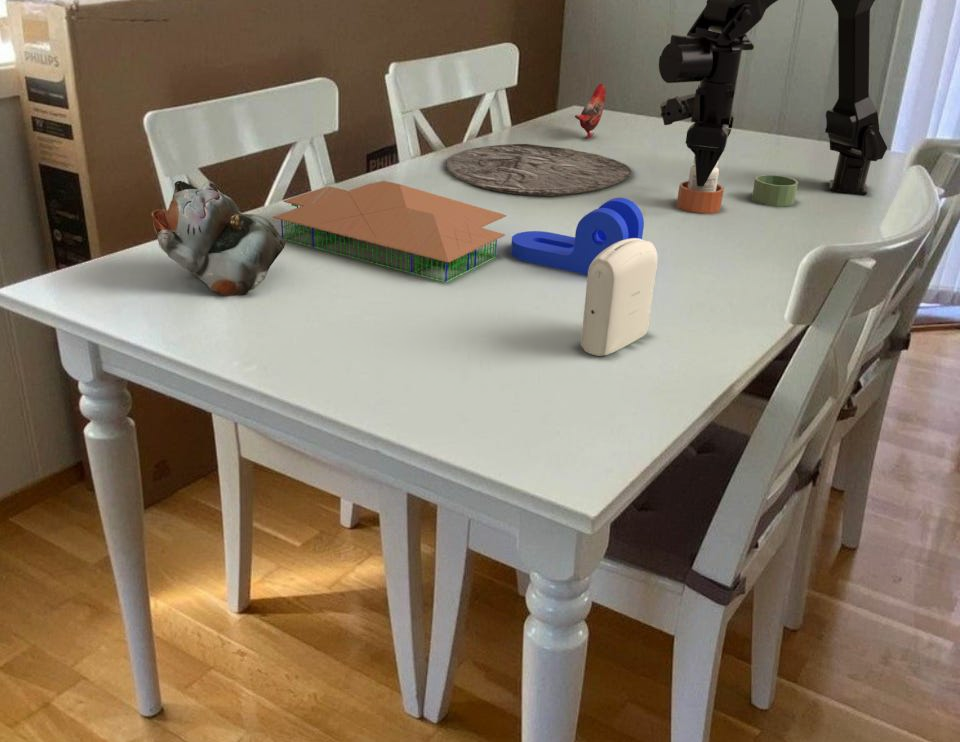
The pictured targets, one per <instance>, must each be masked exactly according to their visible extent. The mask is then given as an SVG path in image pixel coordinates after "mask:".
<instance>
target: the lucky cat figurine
mask: <svg viewBox="0 0 960 742" xmlns="http://www.w3.org/2000/svg"><path fill="white" fill-rule="evenodd" d="M150 213H151V218H152V219H153V224H152V225H153V228H154V232H155V233H156V235H157V242H158V247H159V248H160V249H161V250H162V251H163V252H164V253H165V254H166V255H167V256H168V258H170V259H171V260H172V261H174V262H175V263H177V264H179V266H181V267H182V268H183V269H186V270H187V271H189V272H190V273H191V274H193V276H195V277H197V278H198V279H199V280H200V281H202V282H203V283H205V285H206V286H207V287H208V288H209V289H210V290H211V291H212V292H214V293H215V294H218V295H220V296H222V297H224V296H245V295H247V294H248V293H249V292H250V291H254V290H255V289H256V288H257V287H258V286H259V285H261V284H262V283H263V282H264V281H265V280H266V278H267V275H268V272H269V270H270V267H271V266H272V265H273V263H274V262H275V261H276V259H278V257H279V256H280V254H281V253H282V252H283V250H284V249H285V246H286V244H287V240H285V239H286V238H285V237H284V236H283V237H282V235H280V233H279V232H278V230H277V228H276V227H275V225H274V224H273V223H272V222H271V221H270V220H268V219H266V218H265V217H263V216H261V215H259V214H253V213H249V214H248V213H241V212H240V208H239V207H238V205H237V203H236V202H234V201H233V199H232V198H231V197H229V196H228V195H226V194H223V193H222V192H219V188H218V187H217V185H216V183H214V182H213V181H212V180H209V181H205V182H204V184H203V185H202V186H201V188H198V187H195V186H192V185H191V184H189V183H188V182H185V181H182V180H177V181H175V182H174V190H173V194H172V198H171V201H170V203H169V206H168V208H167V210H166V209H165V208H163V209H157V208H156V209H154V210H152V211H151V212H150Z"/></svg>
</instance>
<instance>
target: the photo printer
mask: <svg viewBox="0 0 960 742" xmlns="http://www.w3.org/2000/svg"><path fill="white" fill-rule="evenodd" d="M658 260H659V259H658V251H657V249H656V246H655V245H654V243H653V242H652V241H648V240H644V239H643V238H642V239H639V238H630V239H625V240H622V241H619V242H617V243H615V244H613V245H611V246H609V247H608V248H606V249H605V250H603V251H602V252H601V253H600V254H599V255H598V256H597V257H596V258H595V259H594V260H593V261H592V263H591V264H590V266H589V270H588V275H587V279H586V288H585V297H584V310H583V319H582V328H581V336H580V346H581V347H582V348H583V351H584V352H586V353H588V354H590V355H593V356H596V357H603V356H608V355H611V354H613V353H615V352H617V351H620V350H621V349H623V348H625V347H627V346H629V345H631V344H632V343H634V342H636V341H637V340H639V339H641V338H642V337H644V336H645V335H647V333H648V329H649V324H650V317H651V311H652V304H653V296H654V290H655V281H656V274H657V267H658Z"/></svg>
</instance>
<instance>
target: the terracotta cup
mask: <svg viewBox="0 0 960 742" xmlns="http://www.w3.org/2000/svg"><path fill="white" fill-rule="evenodd" d="M688 182H689V180H684V181H681V182H680V183H679V186H678V193H677V199H676V207H677V208H678V209H680V210H682V211H685V212H690V213H695V214H715V213H718V212H720V211H721V207H722V204H723V203H722V201H723V197H724V190H725V188H724V186H723V185H721V184H718V183H717V187H716V191H714V192H702V191H695V190H691V189H688Z"/></svg>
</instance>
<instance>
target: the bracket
mask: <svg viewBox="0 0 960 742" xmlns="http://www.w3.org/2000/svg"><path fill="white" fill-rule="evenodd" d="M644 220H645V219H644V215H643V212H642V210H641V208H640V207H639V206H638V204H637V203H635V202H634V201H633V200H631V199H629V198H626V197H613V198H611V199H609V200H607V201H606V202H604V203H602V204H601V205H600V206H599V207H598V208H595V209H593V210H591V211H590V212H588V213H587V214H585V215H584V216H582V218H581V219H580V220H579V221H578V223H577V224H576V228H575V235H574V236H570V235H565V234H560V233H555V232H549V231H543V230H542V231H541V230H528V231H521V232H517V233H515V234H514V235H512V236H511V243H510V244H511V245H510V255H511V256H512V257H513V258H515V259H517V260H519V261H522V262H525V263H530V264H535V265H538V266H539V265H540V266H545V267H549V268H554V269H559V270H563V271H568V272H572V273H576V274H582V275H585V276H586V275H587V276H588V270H589V266H590V264H591V263H592V261H593V260H594V259H595V258H596V257H597V256H598V255H599V254H600V253H601V252H602V251H603V250H605V249H606V248H608V247H609V246H611V245H613V244H615V243H617V242H619V241H622V240H625V239H630V238H639V239H642V240H643V235H644V229H645V227H644V226H645V221H644Z"/></svg>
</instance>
